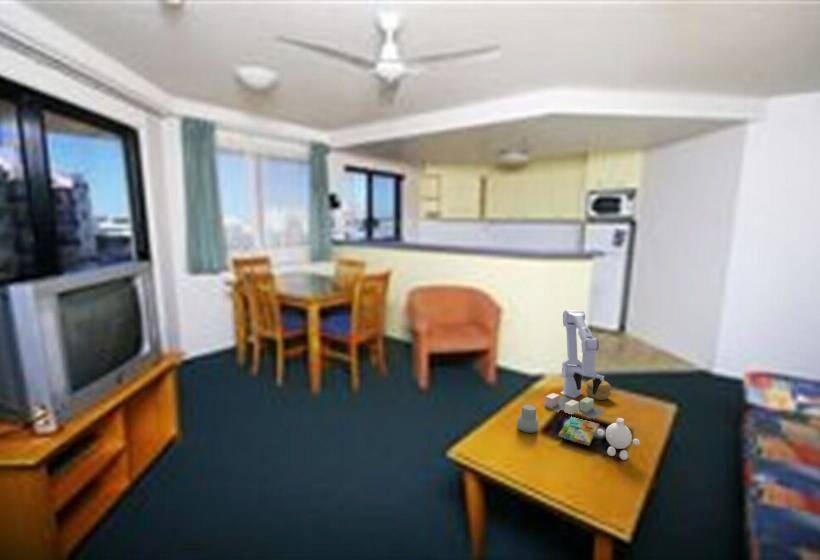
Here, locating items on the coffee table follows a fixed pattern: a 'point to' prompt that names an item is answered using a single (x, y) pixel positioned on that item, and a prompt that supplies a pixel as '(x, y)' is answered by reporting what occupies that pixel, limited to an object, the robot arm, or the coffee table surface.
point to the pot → (599, 390)
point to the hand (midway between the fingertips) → (586, 391)
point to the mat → (590, 414)
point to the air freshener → (528, 419)
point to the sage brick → (586, 404)
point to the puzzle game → (579, 430)
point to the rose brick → (552, 400)
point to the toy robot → (618, 438)
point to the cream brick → (571, 407)
